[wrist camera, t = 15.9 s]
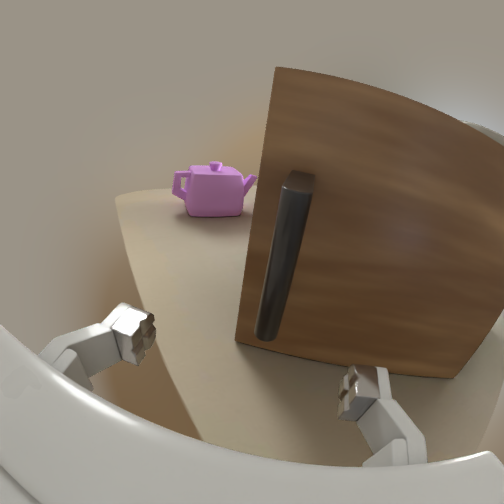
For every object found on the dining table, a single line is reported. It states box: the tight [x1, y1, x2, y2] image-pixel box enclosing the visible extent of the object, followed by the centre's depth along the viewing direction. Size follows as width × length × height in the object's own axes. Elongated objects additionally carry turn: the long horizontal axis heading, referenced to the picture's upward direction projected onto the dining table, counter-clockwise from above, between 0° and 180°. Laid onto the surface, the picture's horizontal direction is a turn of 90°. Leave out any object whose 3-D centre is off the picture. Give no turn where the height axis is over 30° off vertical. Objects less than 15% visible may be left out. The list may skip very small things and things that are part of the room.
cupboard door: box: [235, 67, 504, 378], centre depth 16 cm, size 7×26×24 cm, turn 77°
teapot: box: [172, 161, 257, 217], centre depth 55 cm, size 18×10×10 cm, turn 110°
